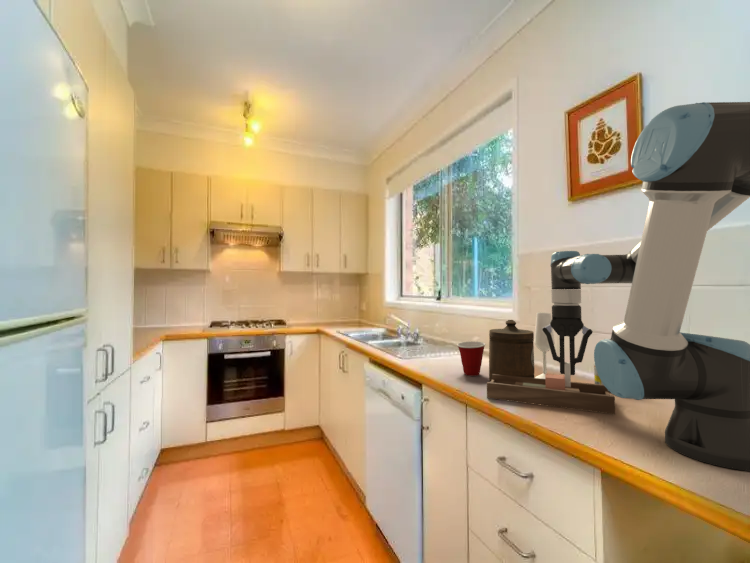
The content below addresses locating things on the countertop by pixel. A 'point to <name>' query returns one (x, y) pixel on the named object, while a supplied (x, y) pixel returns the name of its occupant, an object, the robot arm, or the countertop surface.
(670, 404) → the countertop surface
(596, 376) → the supplement bottle
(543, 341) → the champagne flute
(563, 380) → the block
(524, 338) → the wooden container
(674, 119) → the robot arm
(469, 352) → the plastic cup
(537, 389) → the box
